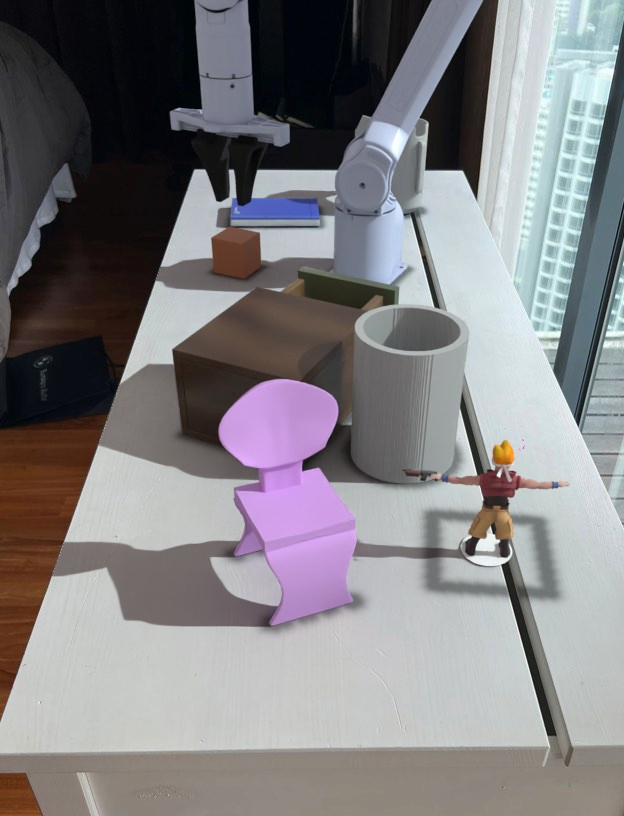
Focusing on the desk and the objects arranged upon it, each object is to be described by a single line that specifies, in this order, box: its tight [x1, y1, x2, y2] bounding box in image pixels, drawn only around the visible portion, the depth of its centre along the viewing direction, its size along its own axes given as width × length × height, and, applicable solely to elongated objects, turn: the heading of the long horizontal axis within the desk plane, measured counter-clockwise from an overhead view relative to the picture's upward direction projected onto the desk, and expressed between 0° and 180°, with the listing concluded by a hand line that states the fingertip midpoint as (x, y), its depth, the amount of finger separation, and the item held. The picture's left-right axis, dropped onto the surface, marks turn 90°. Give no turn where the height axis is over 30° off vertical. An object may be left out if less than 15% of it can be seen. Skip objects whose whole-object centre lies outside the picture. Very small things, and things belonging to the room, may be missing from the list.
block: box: [210, 226, 262, 280], centre depth 104 cm, size 4×4×4 cm
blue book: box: [229, 197, 321, 227], centre depth 120 cm, size 2×8×12 cm
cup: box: [350, 303, 470, 485], centre depth 71 cm, size 9×9×12 cm
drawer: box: [280, 266, 400, 311], centre depth 85 cm, size 18×11×7 cm, turn 155°
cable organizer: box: [354, 114, 429, 215], centre depth 121 cm, size 7×12×12 cm, turn 38°
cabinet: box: [171, 286, 368, 468], centre depth 77 cm, size 15×12×9 cm
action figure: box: [402, 439, 571, 567], centre depth 62 cm, size 12×3×9 cm, turn 86°
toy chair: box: [218, 379, 358, 627], centre depth 57 cm, size 8×9×15 cm
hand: (233, 201), depth 100 cm, fingers closed
